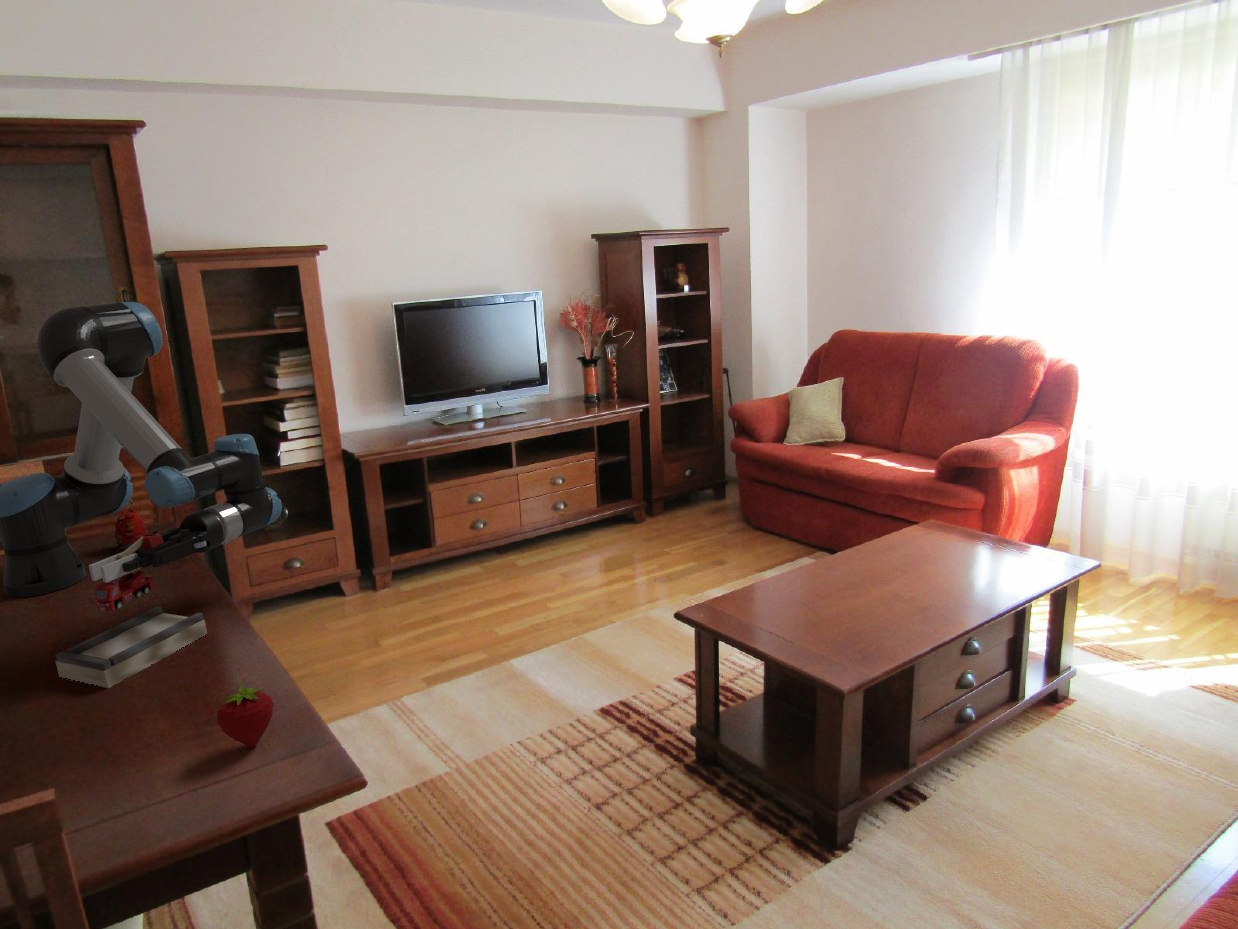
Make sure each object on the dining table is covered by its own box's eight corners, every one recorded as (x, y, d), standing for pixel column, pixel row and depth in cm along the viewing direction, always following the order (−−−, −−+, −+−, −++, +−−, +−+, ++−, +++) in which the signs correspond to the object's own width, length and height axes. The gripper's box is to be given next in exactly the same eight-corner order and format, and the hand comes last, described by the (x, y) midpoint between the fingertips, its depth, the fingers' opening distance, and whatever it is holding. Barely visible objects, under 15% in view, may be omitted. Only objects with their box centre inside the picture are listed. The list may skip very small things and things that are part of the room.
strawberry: (217, 748, 123) (204, 684, 120) (271, 727, 128) (259, 665, 125) (231, 766, 119) (218, 700, 116) (286, 743, 123) (274, 679, 121)
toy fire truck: (95, 612, 147) (84, 558, 144) (155, 580, 159) (146, 530, 157) (111, 614, 146) (100, 560, 143) (171, 581, 159) (162, 531, 156)
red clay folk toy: (113, 548, 211) (99, 489, 207) (143, 540, 216) (130, 481, 212) (125, 554, 206) (112, 494, 202) (156, 545, 211) (143, 486, 207)
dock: (160, 626, 165) (156, 606, 164) (207, 634, 160) (203, 613, 159) (59, 677, 147) (53, 655, 146) (108, 688, 142) (103, 665, 141)
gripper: (243, 549, 165) (133, 599, 144) (185, 543, 171) (72, 590, 150) (236, 511, 163) (124, 556, 142) (178, 506, 169) (62, 549, 148)
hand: (97, 573), depth 146 cm, fingers closed on toy fire truck, 2 cm apart
